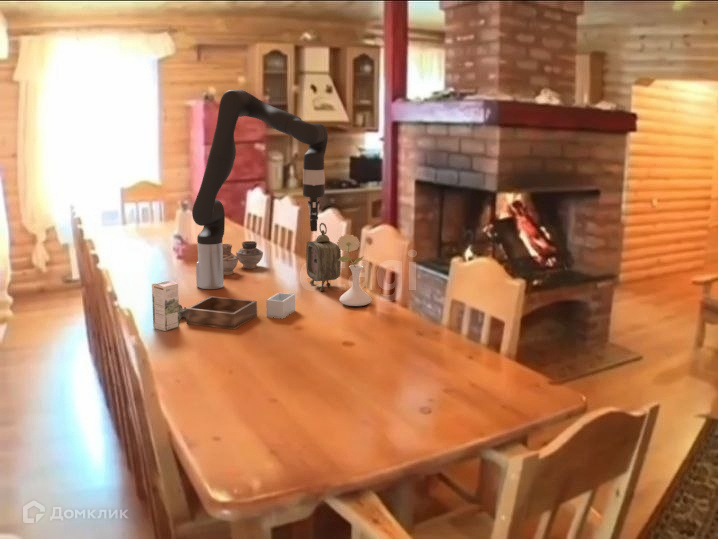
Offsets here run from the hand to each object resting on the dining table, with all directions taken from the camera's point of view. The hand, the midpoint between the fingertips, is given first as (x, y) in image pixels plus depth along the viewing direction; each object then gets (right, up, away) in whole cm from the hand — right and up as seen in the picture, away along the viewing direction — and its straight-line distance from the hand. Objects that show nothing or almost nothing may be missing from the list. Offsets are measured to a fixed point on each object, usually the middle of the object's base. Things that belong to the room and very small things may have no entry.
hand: (313, 228), depth 257 cm
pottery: (-34, -15, +51) cm, 63 cm away
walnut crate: (-29, -30, -17) cm, 45 cm away
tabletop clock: (+2, -21, +25) cm, 33 cm away
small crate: (-10, -29, -10) cm, 32 cm away
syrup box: (-44, -33, -27) cm, 61 cm away
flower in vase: (+14, -27, +3) cm, 30 cm away
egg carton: (-45, -30, -16) cm, 57 cm away
